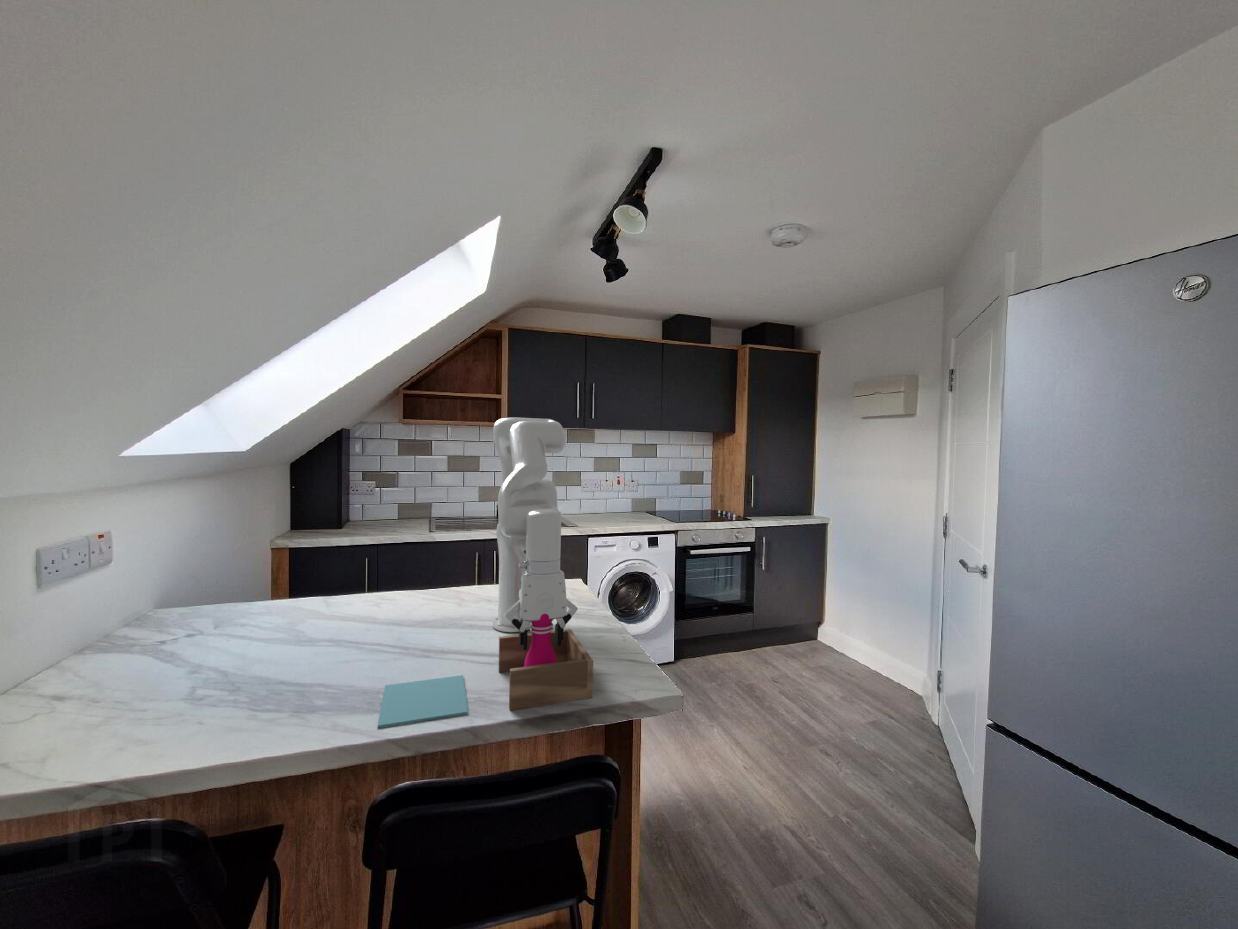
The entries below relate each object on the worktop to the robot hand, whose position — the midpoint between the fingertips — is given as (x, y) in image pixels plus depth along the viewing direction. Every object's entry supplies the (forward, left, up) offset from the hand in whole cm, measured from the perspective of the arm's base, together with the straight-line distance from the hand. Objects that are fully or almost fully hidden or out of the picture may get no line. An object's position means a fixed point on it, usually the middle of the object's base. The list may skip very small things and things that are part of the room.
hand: (541, 645), depth 111 cm
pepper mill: (0, 0, -9) cm, 9 cm away
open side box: (0, 0, -9) cm, 9 cm away
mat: (0, -24, -9) cm, 26 cm away
